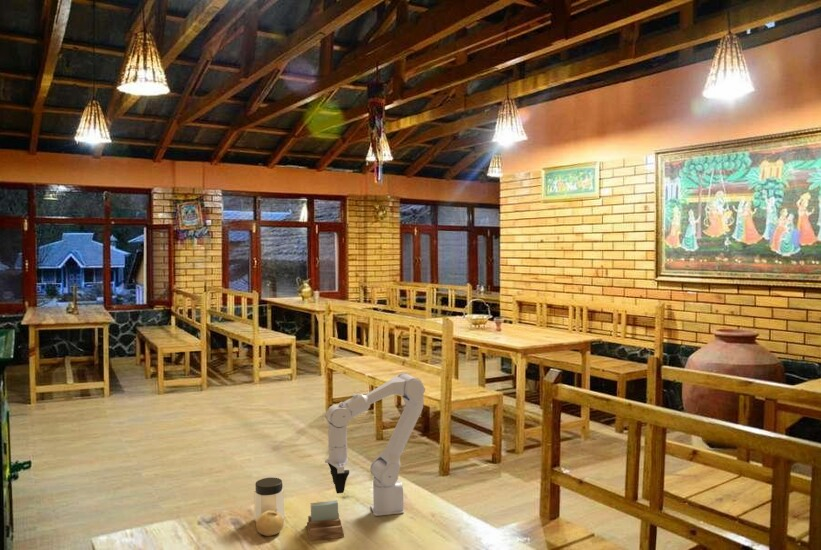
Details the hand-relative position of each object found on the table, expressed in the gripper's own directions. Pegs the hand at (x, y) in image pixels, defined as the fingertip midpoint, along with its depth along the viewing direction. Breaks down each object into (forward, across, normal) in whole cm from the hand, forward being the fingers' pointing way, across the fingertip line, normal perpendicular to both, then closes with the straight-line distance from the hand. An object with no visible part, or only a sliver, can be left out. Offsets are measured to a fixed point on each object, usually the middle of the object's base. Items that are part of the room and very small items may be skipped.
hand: (338, 488), depth 200 cm
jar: (+10, -5, -21) cm, 24 cm away
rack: (+10, +7, -5) cm, 13 cm away
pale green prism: (+9, +5, -5) cm, 11 cm away
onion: (+10, +4, -21) cm, 24 cm away
